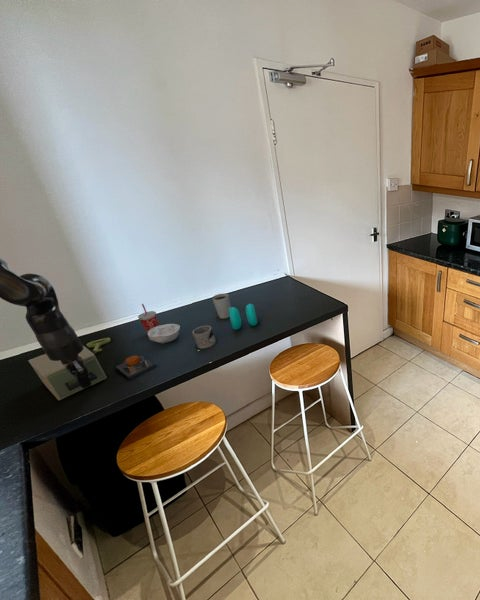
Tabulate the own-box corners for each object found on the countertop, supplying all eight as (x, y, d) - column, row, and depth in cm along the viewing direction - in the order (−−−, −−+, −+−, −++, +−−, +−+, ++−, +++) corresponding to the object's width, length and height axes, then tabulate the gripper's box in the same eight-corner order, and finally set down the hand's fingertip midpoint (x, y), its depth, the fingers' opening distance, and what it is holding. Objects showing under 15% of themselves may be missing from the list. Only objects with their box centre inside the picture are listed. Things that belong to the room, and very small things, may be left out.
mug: (215, 345, 126) (211, 332, 123) (196, 350, 124) (191, 336, 120) (216, 333, 134) (212, 320, 131) (198, 337, 132) (193, 324, 129)
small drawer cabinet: (107, 377, 109) (94, 354, 105) (58, 400, 100) (42, 375, 95) (91, 364, 116) (78, 341, 111) (43, 384, 106) (27, 360, 102)
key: (94, 356, 120) (92, 352, 119) (86, 345, 126) (84, 341, 125) (118, 347, 125) (116, 343, 124) (108, 337, 132) (106, 333, 131)
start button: (141, 361, 113) (139, 357, 112) (129, 366, 110) (128, 362, 109) (137, 358, 115) (135, 354, 114) (125, 363, 112) (123, 359, 111)
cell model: (165, 332, 135) (159, 318, 132) (189, 335, 133) (184, 321, 130) (144, 345, 126) (137, 331, 123) (169, 348, 124) (163, 334, 121)
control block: (155, 366, 114) (152, 360, 113) (129, 379, 108) (126, 372, 107) (142, 358, 119) (139, 351, 118) (117, 369, 113) (113, 363, 112)
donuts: (233, 323, 142) (227, 304, 137) (257, 318, 146) (252, 299, 141) (234, 334, 134) (228, 314, 129) (259, 328, 138) (254, 308, 133)
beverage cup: (144, 338, 131) (131, 308, 125) (146, 331, 136) (134, 302, 130) (162, 334, 134) (150, 305, 127) (163, 327, 139) (152, 299, 132)
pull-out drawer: (110, 382, 106) (100, 363, 102) (65, 404, 97) (52, 383, 93) (90, 365, 114) (79, 346, 110) (47, 383, 105) (34, 363, 102)
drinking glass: (236, 312, 150) (231, 294, 146) (226, 319, 145) (221, 300, 140) (224, 311, 152) (219, 292, 147) (214, 318, 146) (208, 298, 142)
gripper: (34, 340, 91) (63, 385, 99) (49, 354, 85) (79, 401, 93) (68, 328, 97) (93, 372, 105) (85, 341, 91) (110, 386, 99)
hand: (86, 386), depth 99 cm, fingers closed
